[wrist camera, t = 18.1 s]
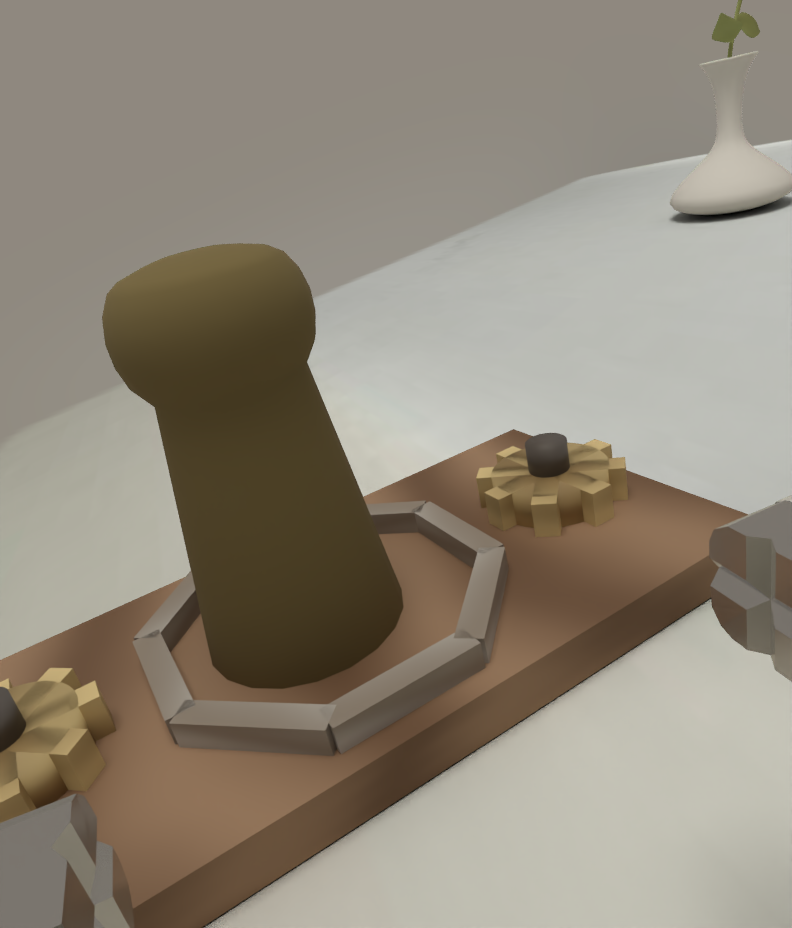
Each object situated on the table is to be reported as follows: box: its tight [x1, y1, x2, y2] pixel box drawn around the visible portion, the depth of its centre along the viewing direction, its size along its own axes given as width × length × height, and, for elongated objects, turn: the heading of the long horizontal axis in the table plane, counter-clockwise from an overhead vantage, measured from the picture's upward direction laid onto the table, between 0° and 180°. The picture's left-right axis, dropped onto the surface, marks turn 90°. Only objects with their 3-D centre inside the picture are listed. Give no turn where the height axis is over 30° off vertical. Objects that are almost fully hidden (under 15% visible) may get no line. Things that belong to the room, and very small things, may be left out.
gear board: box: [0, 429, 748, 928], centre depth 22 cm, size 24×12×4 cm, turn 120°
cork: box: [102, 244, 404, 689], centre depth 20 cm, size 6×6×11 cm
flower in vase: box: [670, 0, 792, 215], centre depth 69 cm, size 13×11×25 cm
